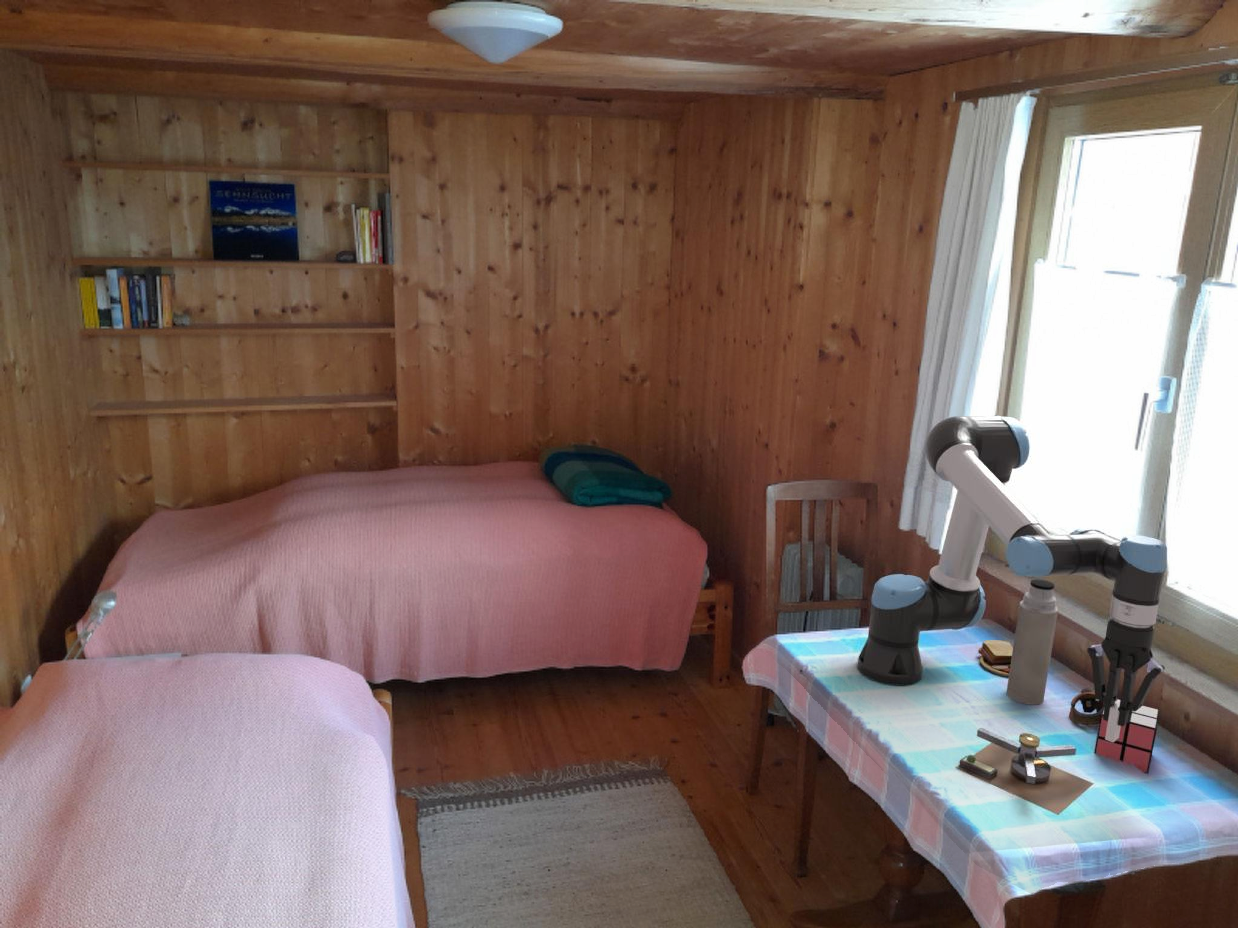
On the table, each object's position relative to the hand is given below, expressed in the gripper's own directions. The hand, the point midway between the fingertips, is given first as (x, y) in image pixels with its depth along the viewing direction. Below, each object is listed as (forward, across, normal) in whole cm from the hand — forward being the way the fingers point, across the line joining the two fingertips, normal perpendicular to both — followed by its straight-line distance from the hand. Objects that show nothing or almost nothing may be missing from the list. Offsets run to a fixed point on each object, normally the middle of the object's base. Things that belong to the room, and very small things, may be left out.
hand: (1111, 738), depth 178 cm
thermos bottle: (+11, -28, +28) cm, 41 cm away
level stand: (+12, -12, -8) cm, 18 cm away
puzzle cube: (+12, -3, +18) cm, 22 cm away
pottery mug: (+12, -13, +28) cm, 33 cm away
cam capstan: (+10, -11, -6) cm, 16 cm away
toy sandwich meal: (+11, -39, +40) cm, 57 cm away
